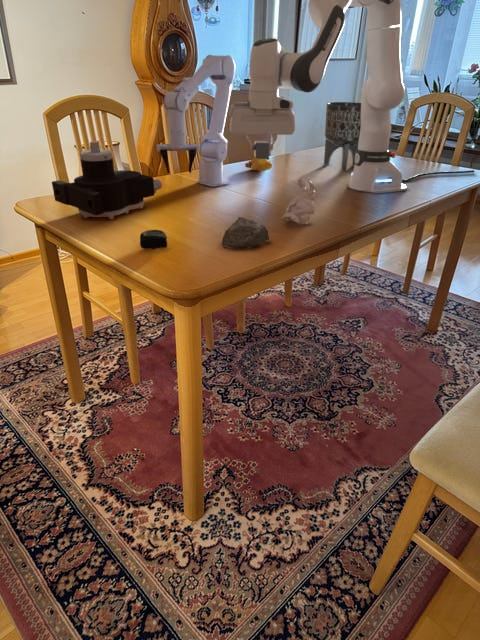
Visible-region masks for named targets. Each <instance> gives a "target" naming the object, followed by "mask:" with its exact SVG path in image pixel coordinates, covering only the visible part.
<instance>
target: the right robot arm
mask: <svg viewBox="0 0 480 640" xmlns="http://www.w3.org/2000/svg"><path fill="white" fill-rule="evenodd" d="M307 7H308V13H309V16H310V19H311V20H312V22H313V24H315V26H316V27H317V28H318V29H319V32H318V33H317V35H316V38H315V40H314V42H313V43H312V47H310V48H309V49H308V50H306V51H304V52H290V51H288V50H286V49H285V48H284V47H283V46H282V45H281V44H280V42H279V40H278V39H277V38H272V37H271V38H264V39H259V40H256V41H255V42H254V43H253V44H252V46H251V50H250V55H249V71H248V72H249V73H248V74H249V80H250V84H249V88H248V101H234V102H233V103H231V104H230V106H228V114H229V117H230V120H229V132H230V133H231V135H232V136H246V139H247V141H248V143H249V150H250V151H254V150H255V143H253V141H252V139H253V136H270V138H271V141H270V142H269V151H273V150H274V144H275V143H276V141H277V139H278V136H283V135H285V136H289V135H293V134H294V133H295V131H296V114H295V112H294V111H293V110H292V109H293V108H294V102H293V101H292V100H291V99H287V98H285V97H284V96H279V89H285V90H292V91H298V92H302V93H311V92H314V91H315V90H316V89H317V88H318V87H319V86H320V84H321V82H322V80H323V78H324V75H325V72H326V68H327V65H328V63H329V60H330V58H331V56H332V53H333V52H334V50H335V47H336V45H337V43H338V41H339V38H340V37H341V34H342V31H343V29H344V26H345V23H346V13H345V12H346V10H347V9H354V8H361V7H366V10H367V19H366V42H365V43H366V47H365V51H366V52H365V58H366V62H367V69H368V78H367V79H366V80H365V81H364V83H363V84H362V86H361V89H360V96H361V100H360V103H361V127H360V135H359V142H358V148H357V149H356V155H355V166H353V171H352V172H351V174H350V175H351V176H350V180H349V182H348V184H347V187H348V188H350V189H352V190H355V191H359V192H367V193H372V194H386V193H387V194H388V193H393V192H394V193H395V192H404V191H408V186H406V184H404V183H406V182H409V181H412V180H415V179H417V178H420V177H423V176H430V175H448V174H469V173H475V170H473V169H472V170H454V171H453V170H452V171H451V170H449V171H448V170H447V171H432V172H422V173H418V174H417V175H416V174H415V175H414V176H410V177H408V178H407V179H403V173H402V170H400V169H399V168H398V167H397V165H395V164H394V163H393V162H392V161H391V158H392V159H396V158H397V153H396V152H395V151H390V150H389V145H390V141H391V140H390V139H391V135H392V121H391V111H392V110H394V109H396V108H397V107H399V106H400V104H401V103H402V102H403V100H404V97H405V94H406V93H405V91H406V90H405V86H404V83H403V70H402V62H401V41H402V40H401V37H402V5H401V0H309V1H308V6H307Z"/></svg>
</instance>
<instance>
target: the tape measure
mask: <svg viewBox="0 0 480 640" xmlns="http://www.w3.org/2000/svg"><path fill="white" fill-rule="evenodd" d="M167 236H168V235H167V234H166V232H165V231H164V230H161V229H147V230H144V231H143V232H141V233H140V235H139V240H140V241H139V245H140V246H139V247H141V248H142V249H146V250H157V249H167V248H168V240H167V239H168V237H167Z"/></svg>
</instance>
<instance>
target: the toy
mask: <svg viewBox="0 0 480 640" xmlns="http://www.w3.org/2000/svg"><path fill="white" fill-rule="evenodd" d="M271 161H272V160H271V158H270V157H269V156H268V159H255V157H253V158H251V160H249V161H248V162H246V163H245V164H244V167H245V168H248V169H252V170H255V171H257V172H265V171H268V170H271V169H272V168H273V163H271Z"/></svg>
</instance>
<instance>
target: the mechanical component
mask: <svg viewBox="0 0 480 640" xmlns="http://www.w3.org/2000/svg"><path fill="white" fill-rule="evenodd" d="M89 146H90V149H86V150H81V151H80V152H79V154H78V155H79V158H80V160H79V161H80V166H81V172H82V175H79V176H76V177H75V178H74V179H73V181H74V182H66V181H64V180H60V179H59V180H54V181H51V187H52V191H53V196H54V201H55V202H58V203H60V204H63V205H67V206H71V207H74V208H77V209H78V213H79V214H80V215H83V218H85V219H89V218H90V217H93V218H105V217H108V220H114V219H115V216H119V215H121V214H126V215H127V214H129V213H130V210H135V209H136V210H137V209H143V207H144V199H147V198H150V197H154V196H155V194H156V193H157V190H161V189H162V186H163V183H162V181H161V180H160V179H158V178H157V179H155V178H154V177H153V176H149V175H146V174H143V173H141V172H139V171H136V170H129V169H126V170H125V169H124V170H123V169H121V170H115V165H114V154H113V151H111V150H109V149H102V148H101V144H100V141H89Z"/></svg>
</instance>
